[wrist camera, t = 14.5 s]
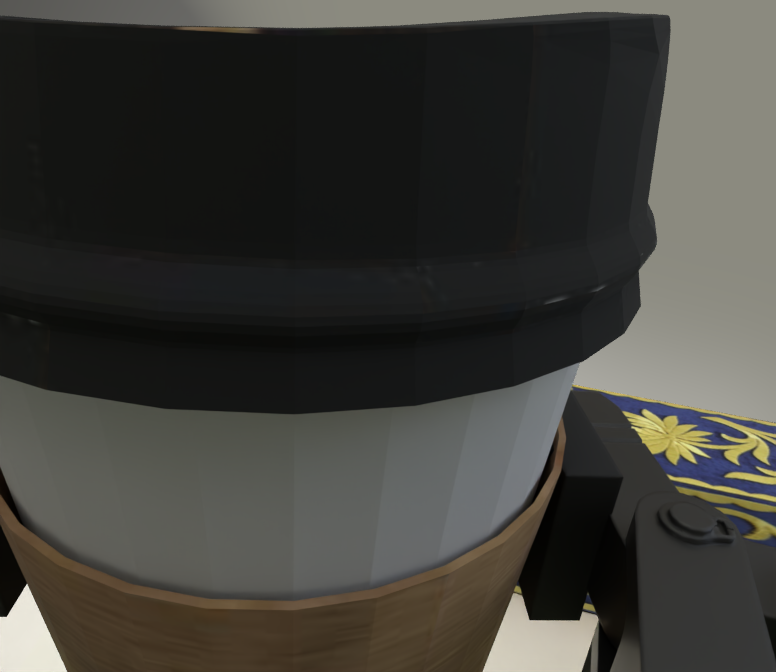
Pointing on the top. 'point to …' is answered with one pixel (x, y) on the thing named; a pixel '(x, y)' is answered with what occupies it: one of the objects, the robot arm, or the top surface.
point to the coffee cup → (305, 324)
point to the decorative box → (710, 460)
